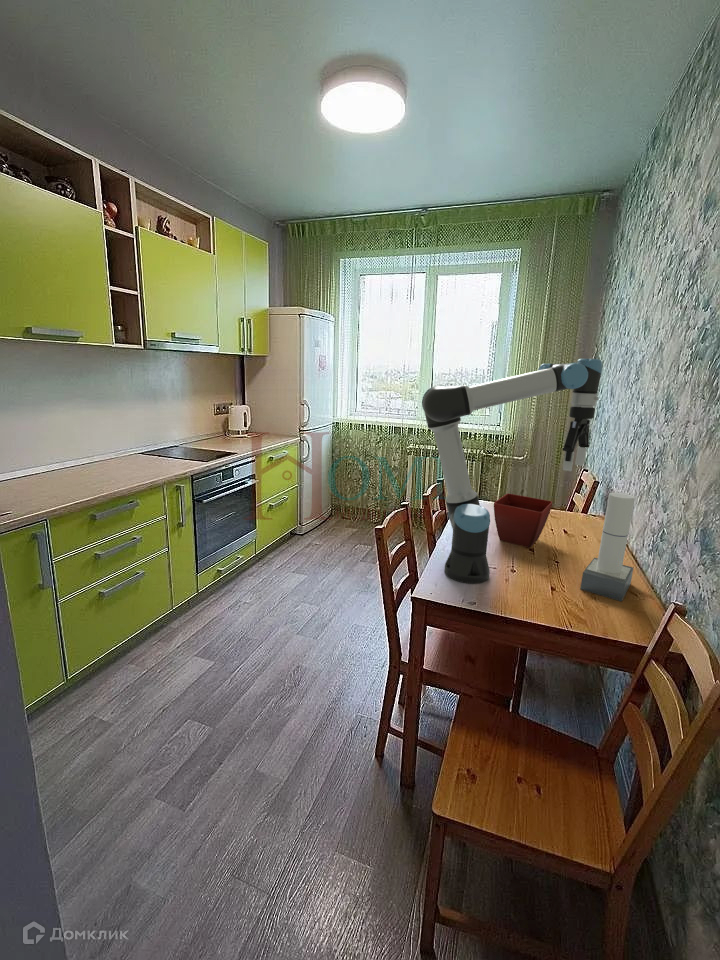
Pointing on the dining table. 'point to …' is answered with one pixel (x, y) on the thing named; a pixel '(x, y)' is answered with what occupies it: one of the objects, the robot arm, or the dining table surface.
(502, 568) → the dining table surface
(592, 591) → the grey rectangular block
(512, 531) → the plant pot
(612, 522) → the cylindrical container
